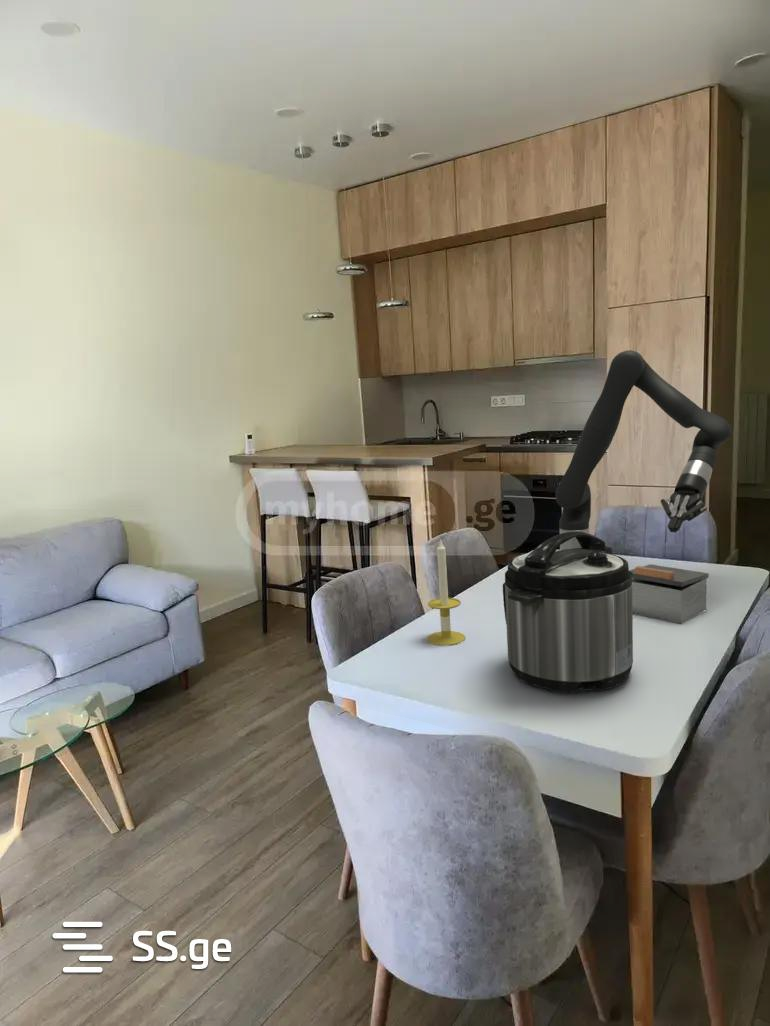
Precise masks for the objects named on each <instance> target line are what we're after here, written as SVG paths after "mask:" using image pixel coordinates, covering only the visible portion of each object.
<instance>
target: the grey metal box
mask: <svg viewBox="0 0 770 1026" xmlns="http://www.w3.org/2000/svg"><path fill="white" fill-rule="evenodd" d="M707 579H708V578H706V579H703V580H700V581H697V582H694V583H691V584H688V585H685V586H683V587H681V586H675V585H669V584H663V583H658V582H652V581H646V580H640V579H635V578H632V600H633V601H632V612H633V615H639V616H642V615H643V616H644V617H648V618H653V619H655V620H657V619H658V620H662V621H666V622H671V623H675V624H680V625H682V624H684V623H686V622H688V621H689V620H691V619H692V618H694V616H695V617H697V616H698V615H700V614H702V613H704V612H705V611H704V610H706V611H707V586H708V585H707ZM703 611H704V612H703ZM701 612H702V613H701ZM699 613H700V614H699ZM643 616H642V617H643Z"/></svg>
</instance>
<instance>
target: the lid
mask: <svg viewBox="0 0 770 1026" xmlns="http://www.w3.org/2000/svg"><path fill="white" fill-rule="evenodd" d="M629 571H631V572H632V573H633V575H632V578H635V579H640V580H646V581H652V582H658V583H663V584H669V585H675V586H681V587H683V586H685V585H688V584H691V583H694V582H697V581H700V580H703V579H706V578H707V579H708V578H709V575H710V574H709V572H703V571H702V572H701V571H695V570H689V569H682V568H675V567H671V566H669V567H668V566H664V565H663V566H662V565H656V564H647V565H644V566H640V565H639V566H635V567H634V568H633V569H629Z"/></svg>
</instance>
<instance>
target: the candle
mask: <svg viewBox="0 0 770 1026" xmlns="http://www.w3.org/2000/svg"><path fill="white" fill-rule="evenodd" d="M446 552H447V551H446V547H445V546H444V545H443V541H442V538H440V540H439V543H438V546H437V547H436V554H437V555H436V557H437V573H438V588H439V589H438V590H439V598H434V599H431V600H430V601H428V603H427V606H428V607H430V608H431V609H434V610H439V612H440V613H439V615H440V616H439V619H440V631H437V632H436V631H435V632H433V633H431V634H430V635H428V637H427V639H426V640H427V641H428V642H430V643H429V644H431V643H433V644H432V645H434V644H437V645H436V646H439V645H450V646H455V645H454V644H456V645H459V644H461V643H460V642H462V641H463V642H465V640H466V635H465V634H464V633H461V632H460V631H453V630H451V629H452V627H451V614H450V610H451V609H454V608H455V609H456V608H458V607H459V606H460V605H461V600H460V599H459V598H458V599H457V598H455V597H454V598H453V597H449V590H448V573H447V555H446ZM463 642H462V643H463ZM458 643H459V644H458Z"/></svg>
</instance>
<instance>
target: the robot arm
mask: <svg viewBox="0 0 770 1026" xmlns="http://www.w3.org/2000/svg"><path fill="white" fill-rule="evenodd" d="M605 379H606V380H605V381H604V382H605V383H604V386H603V388H602V390H601V393H600V396H599V397H598V399H597V401H596V403H595V404H594V406H593V409H592V410H591V412H590V414H589V417H588V418H587V420H586V422H585V425H584V427H583V430H582V431H581V434H580V437H579V439H578V442H577V445H576V447H575V449H574V452H573V455H572V458H571V461H570V463H569V465H568V467H567V469H566V471H565V473H564V475H563V477H562V478H561V480H560V481H559V483H558V485H557V487H556V490H555V499H556V502H557V505H559V507H561V508H562V512H561V516H560V518H559V521H558V522H559V523H558V526H559V534H562V533H565V532H584V533H588V534H590V520H591V516H592V515H591V514H592V513H591V511H592V509H591V507H592V498H591V497H592V494H591V493H592V492H591V487H590V485H589V484H588V483H589V480H590V478H591V475H592V473H593V472H594V470H595V468H596V467H597V465H598V464H599V463H600V461H601V460H602V458H603V457H604V456H605V454H606V453H607V451H608V449H609V447H610V446H611V444H612V441H613V440H614V437H615V434H616V432H617V430H618V428H619V424H620V421H621V417H622V414H623V409H624V406H625V404H626V401H627V399H628V396H629V395H630V393H631V391H632V389H633V387H636V388H638V389H639V390H641V391H642V392H643V393H644V394H646V396H648V397H649V398H650V399H652V400H653V402H654V403H655V405H656V406H658V407H659V408H660V409H661V410H662V411H663V412H664V413H665V414H666V415H668V417H670V418H671V419H673V420H674V421H675V422H676V423H677V424H679V425H680V426H681V427H683V428H685V429H691V428H693V427H694V428H697V429H699V431H698V432H697V433H696V434H695V437H694V439H693V443H692V449H691V453H690V456H689V457H688V460H687V462H686V464H685V466H684V467H683V469H682V472H681V473H680V475H679V478H678V480H677V482H676V485H675V486H674V491H673V493H672V494H671V495H670V497H669V498H667V499H665V498H662V499H661V500H660V504H661V506H662V508H663V510H664V512H665V514H666V516H667V518H668V519H669V521H668V524H667V528H668V530H669V532H670V533H677V532H678V531H680V529H681V526H682V524H683V523H684V522H685V521H688V522H691V521H693V520H694V519H695V518H697V517H699V516H700V515H701V514H702V513H704V512H706V511H708V507H707V505H706V504H705V502H703V497H704V495H705V492H706V490H707V487H708V485H709V483H710V480H711V477H712V473H713V470H714V468H715V466H716V463H717V461H718V452H717V450H718V448H719V447H720V446H721V445H722V444H724V443H725V442H727V441H728V440H729V439H731V436H732V434H733V431H732V430H733V429H732V427H731V425H730V423H729V422H728V421H727V420H726V419H725V418H723V417H721V416H719V415H717V414H715V413H713V412H712V411H711V412H710V411H709V410H706V409H703V408H701V407H700V406H698V405H697V404H696V403H695V402H694V401H692V400H691V399H690V398H689V397H687V396H686V395H685V394H684V393H682V392H681V391H679V390H678V389H677V388H675V387H674V386H672V385H671V384H670V383H669V382H667V381H666V380H665V379H664V378H662V377H661V376H660V374H658V373H657V372H656V371H655V370H654V369H653V368H652V367H651V366H650V365H649V363H648V362H647V361H646V360H645V359H644V357H643V356H642V354H640V353H639V352H638V351H635V350H632V349H631V350H629V349H628V350H624V351H622V352H619V353H617V354H616V355H615V356H614V357H613V358H612V360H611V362H610V365H609V370H608V372H607V376H606V378H605ZM671 505H672V510H671ZM572 548H582V547H581V545H580V544H579V542H578V540H577V539H576V537H573V538H572V539H570V540H568V541H566V542H564V543H563V544H561V545H559V550H564V549H572Z"/></svg>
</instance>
